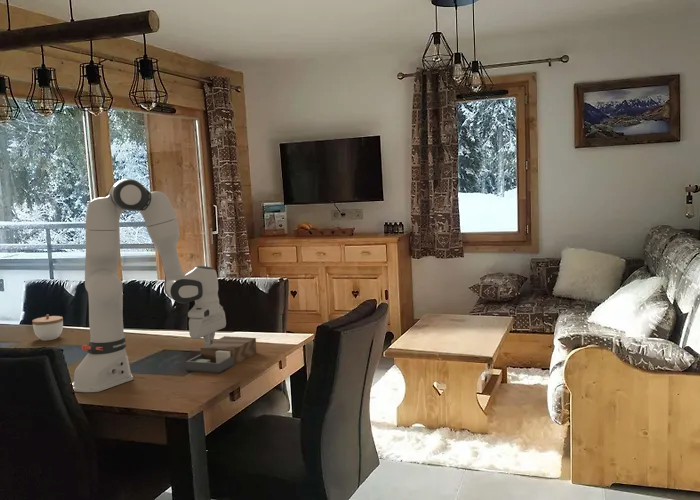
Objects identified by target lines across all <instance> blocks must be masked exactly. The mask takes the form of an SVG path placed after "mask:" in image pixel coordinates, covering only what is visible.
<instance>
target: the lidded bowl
mask: <svg viewBox="0 0 700 500" xmlns="http://www.w3.org/2000/svg"><path fill="white" fill-rule="evenodd" d="M31 323H32V328H33V333H34V335H35V336H36V337H37V338H38V339H39V340H40V341H53V340H56V339H58V338H59V337H60V336H61V334H62V332H63V327H64V318H63V316H62V315H61V316H60V315H51V316H50V315H49V314H46V315H45V316H41V317H37V318H34V319H32V321H31Z"/></svg>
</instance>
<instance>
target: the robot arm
mask: <svg viewBox="0 0 700 500" xmlns="http://www.w3.org/2000/svg"><path fill="white" fill-rule="evenodd" d="M87 204H88V205H87V209H86V215H85V260H84V261H85V262H84V264H85V265H84V287H85V290H86V292H87V295H88V322H89V323H88V325H89V337H90V338H89V339H90V340H89V344H82V346H81V350H82V351H86V352H87V354H86V355H85V357H84V358H83V359H82V360H81V361H80V363H79V364H78V365H77V367H76V368H75V370H74V373H73V382H71V383H72V385H73V389H74V391H73V392H76V393H77V392H78V393H98V392H102V391H105V390H107V389H110V388H113V387H116V386H119V385H121V384H125V383H127V382H130V381H133V380H134V376H133V374H132V372H131V367H130V366H131V365H130V361H129V356H128V354H127V351H126V348H127V340H126V336H125V332H124V331H125V330H124V321H123V320H124V317H123V315H124V314H123V310H124V309H123V307H124V306H123V304H124V300H123V298H124V295H123V292H124V291H123V289H124V288H123V282H122V280H121V278H120V276H119V263H120V262H119V261H120V253H121V250H120V249H121V245H120V244H121V240H120V239H121V238H120V235H121V234H120V231H121V230H120V220H121V215H122V213H124V211H135V212H136V211H138V212H139V213H140V214H141V216H142V219H143V220H144V225H145V228H146V232H147V233H148V235H149V238H150V240H151V242H152V244H153V246H154V247H155V249H156V251H157V252H158V255H159V257H160V261H161V264H162V268H163V271H164V282H163V288H164V293H165V295H166V296H167V297H168V298H170V299H171V300H174V302H176V303H178V304H188V303H191V302H194V305H193V307H191V309H189V311H188V312H187V317H188V318H189V320H188V331H189V332H188V333H189V337H190V338H191V339H194V340H195V339H197V340H198V339H201V338H203V340H204V341H205V342H204V343H205V345H206V346H209V345H211V344H213V343H214V341H215V335H216V332H217V331H220V330H221V329H224V328H226V325H227V319H226V312H225V310H224V306H222V305H221V304H220V298H219V293H218V292H219V281H218V279H219V278H218V274H217V271H216V269H215V268H213V267H210V266H206V265H197V266H195V267H194V268H193V269H192V270H190V271H189V272H187V273H186V274H185V272H183V270H182V269H183V268H182V266H181V263H180V260H179V254H178V252H177V244H178V242H179V239H180V237H181V236H180V235H181V234H180V226H179V222H178V218H177V215H176V213H175V209H174V207H173V205H172V203H171V201H170V199H169V197H168V196H167V194H166V193H164V192H162V191H159V190H158V191H149V189H147V188H146V187H145V186H144V185H143V183H141V182H139V181H137V180H135V179H133V178H126V177H125V178H121V179H119V180H117V181H115V182H114V183H113V184H112V186H111V187H110V189H109V190H108V192H107V193H106V195H105V196H104V197H103V196H101V197H96V198H93V199H92V200H90V201H89V202H88V203H87ZM205 345H204V346H205Z"/></svg>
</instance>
